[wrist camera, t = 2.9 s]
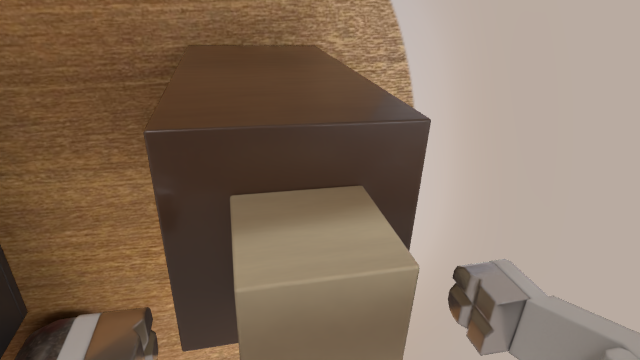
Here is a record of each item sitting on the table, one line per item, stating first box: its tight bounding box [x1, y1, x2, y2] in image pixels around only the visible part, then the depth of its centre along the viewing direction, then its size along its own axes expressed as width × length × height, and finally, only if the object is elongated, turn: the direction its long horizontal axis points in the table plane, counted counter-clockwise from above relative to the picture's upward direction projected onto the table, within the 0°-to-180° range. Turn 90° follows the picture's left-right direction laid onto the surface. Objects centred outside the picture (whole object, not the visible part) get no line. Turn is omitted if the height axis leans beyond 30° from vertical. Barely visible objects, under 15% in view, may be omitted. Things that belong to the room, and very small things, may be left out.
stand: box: [144, 45, 431, 351], centre depth 19 cm, size 8×8×16 cm
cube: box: [230, 186, 419, 360], centre depth 11 cm, size 4×4×4 cm
